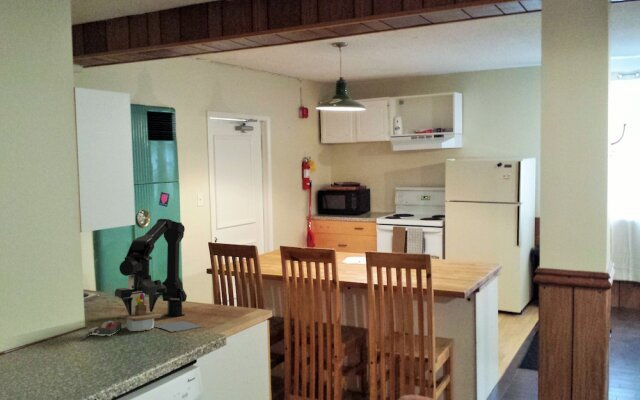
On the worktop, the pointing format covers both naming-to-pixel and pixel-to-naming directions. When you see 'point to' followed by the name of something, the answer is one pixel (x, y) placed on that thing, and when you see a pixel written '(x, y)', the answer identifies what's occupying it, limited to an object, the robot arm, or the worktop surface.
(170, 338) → the worktop surface
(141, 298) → the aerosol can
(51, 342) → the worktop surface
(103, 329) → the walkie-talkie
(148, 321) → the bowl
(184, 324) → the mat
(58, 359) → the worktop surface
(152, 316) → the lid
